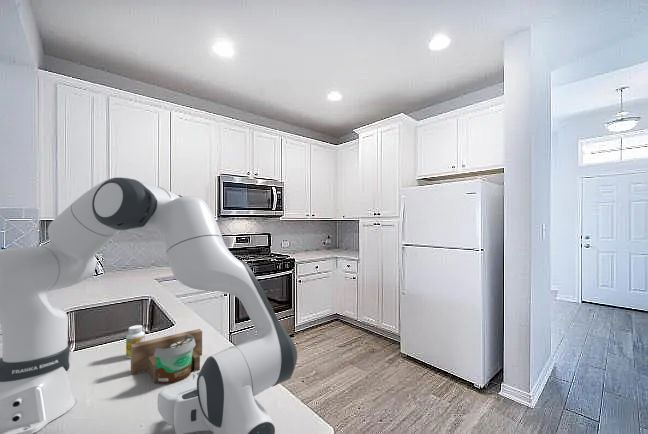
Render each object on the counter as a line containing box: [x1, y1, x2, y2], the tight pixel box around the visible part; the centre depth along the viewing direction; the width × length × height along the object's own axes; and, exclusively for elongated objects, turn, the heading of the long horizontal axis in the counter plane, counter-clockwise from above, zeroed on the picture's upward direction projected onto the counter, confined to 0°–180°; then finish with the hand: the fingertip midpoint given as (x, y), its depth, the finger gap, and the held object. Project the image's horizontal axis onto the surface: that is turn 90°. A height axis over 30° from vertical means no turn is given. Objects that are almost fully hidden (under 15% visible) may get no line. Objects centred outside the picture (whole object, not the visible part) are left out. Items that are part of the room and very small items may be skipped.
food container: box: [154, 334, 196, 385], centre depth 85 cm, size 12×6×10 cm, turn 159°
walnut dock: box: [130, 328, 203, 384], centre depth 91 cm, size 20×13×8 cm, turn 131°
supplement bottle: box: [125, 324, 146, 360], centre depth 100 cm, size 5×5×10 cm
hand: (199, 375), depth 71 cm, fingers closed
